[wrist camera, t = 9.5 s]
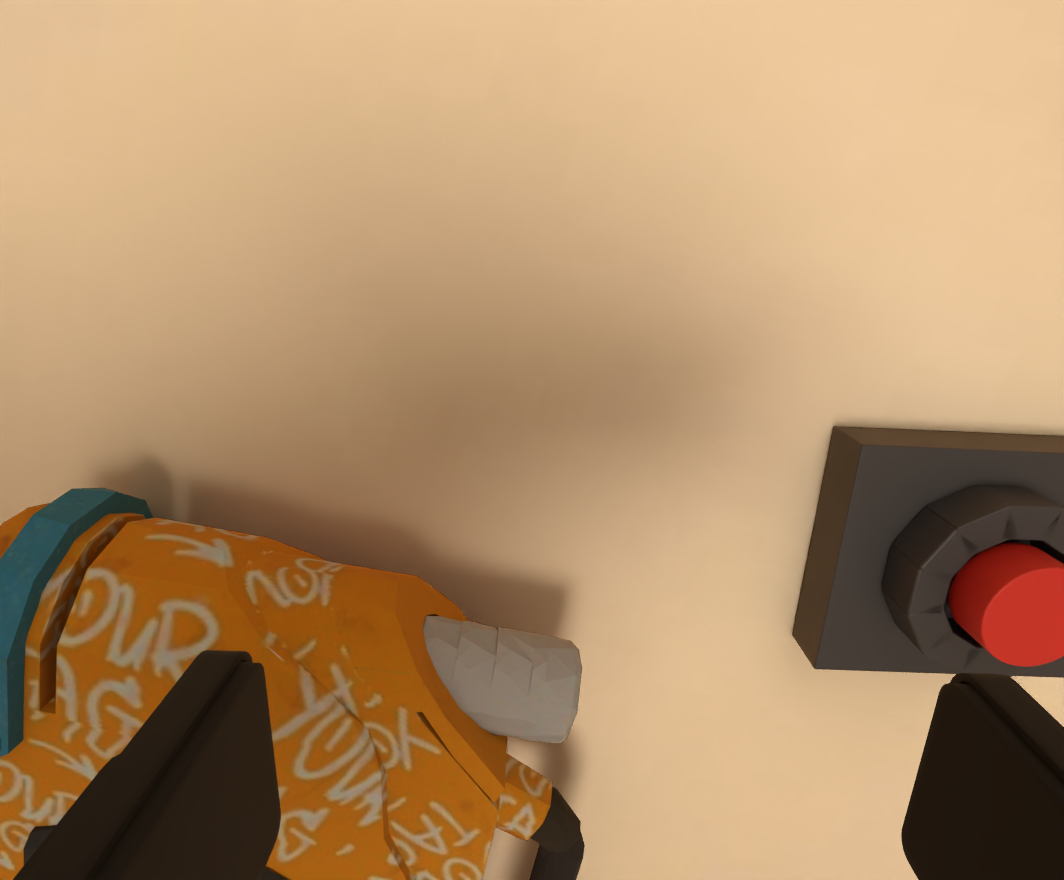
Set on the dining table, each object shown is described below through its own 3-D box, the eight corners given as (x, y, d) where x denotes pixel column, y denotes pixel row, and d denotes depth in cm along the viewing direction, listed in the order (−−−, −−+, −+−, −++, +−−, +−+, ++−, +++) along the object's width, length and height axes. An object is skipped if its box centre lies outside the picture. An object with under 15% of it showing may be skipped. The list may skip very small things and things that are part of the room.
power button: (936, 633, 23) (968, 665, 21) (962, 539, 22) (998, 566, 20) (1038, 636, 23) (1078, 669, 21) (1069, 544, 22) (1114, 570, 20)
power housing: (791, 635, 27) (835, 702, 23) (833, 425, 24) (890, 463, 20) (1030, 643, 27) (1112, 711, 23) (1099, 437, 24) (1204, 476, 21)
